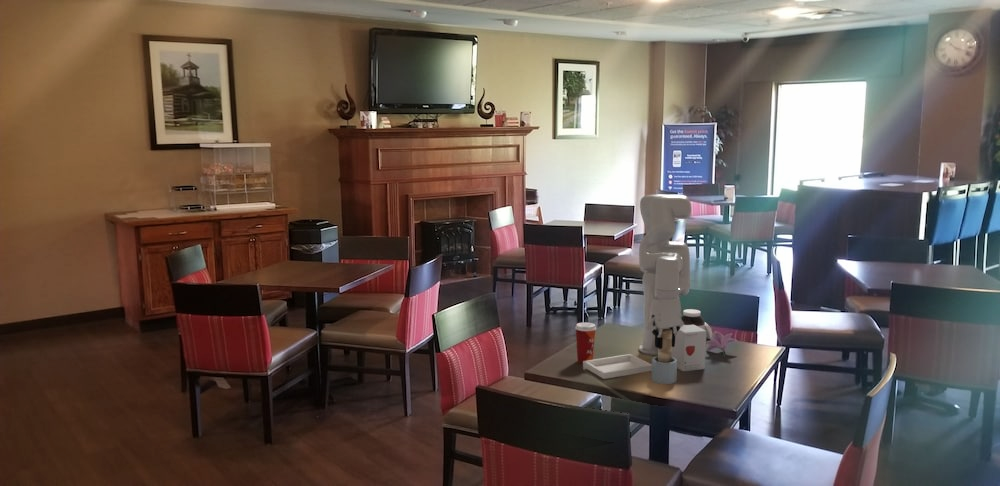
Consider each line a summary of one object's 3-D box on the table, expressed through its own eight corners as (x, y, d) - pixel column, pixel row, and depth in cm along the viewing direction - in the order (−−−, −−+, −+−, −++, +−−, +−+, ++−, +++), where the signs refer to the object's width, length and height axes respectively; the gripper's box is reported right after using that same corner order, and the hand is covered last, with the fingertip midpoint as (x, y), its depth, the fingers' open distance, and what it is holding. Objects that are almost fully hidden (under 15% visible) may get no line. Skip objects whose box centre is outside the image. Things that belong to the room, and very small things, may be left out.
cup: (666, 377, 251) (667, 354, 249) (681, 384, 243) (681, 361, 242) (646, 380, 248) (647, 357, 246) (661, 388, 240) (661, 364, 239)
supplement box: (682, 374, 254) (683, 332, 251) (669, 366, 262) (671, 325, 260) (705, 371, 256) (707, 330, 254) (692, 363, 264) (693, 323, 262)
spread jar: (674, 338, 296) (675, 310, 294) (690, 333, 303) (691, 305, 302) (700, 344, 287) (701, 316, 285) (716, 339, 295) (717, 311, 293)
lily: (742, 356, 276) (735, 332, 279) (738, 353, 265) (731, 327, 269) (710, 363, 280) (704, 338, 283) (705, 359, 270) (699, 334, 273)
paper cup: (594, 365, 263) (595, 328, 261) (573, 364, 265) (574, 327, 262) (596, 358, 271) (597, 322, 268) (575, 357, 272) (576, 321, 270)
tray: (630, 361, 267) (630, 353, 267) (653, 373, 254) (653, 365, 254) (582, 369, 259) (583, 361, 259) (603, 381, 247) (603, 373, 246)
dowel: (665, 367, 248) (666, 327, 246) (673, 371, 244) (674, 330, 242) (654, 368, 246) (656, 329, 244) (662, 373, 242) (663, 332, 240)
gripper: (680, 288, 247) (678, 340, 251) (638, 293, 241) (637, 346, 244) (694, 293, 241) (692, 346, 244) (652, 298, 234) (650, 353, 237)
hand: (664, 346), depth 244 cm, fingers closed on dowel, 4 cm apart
